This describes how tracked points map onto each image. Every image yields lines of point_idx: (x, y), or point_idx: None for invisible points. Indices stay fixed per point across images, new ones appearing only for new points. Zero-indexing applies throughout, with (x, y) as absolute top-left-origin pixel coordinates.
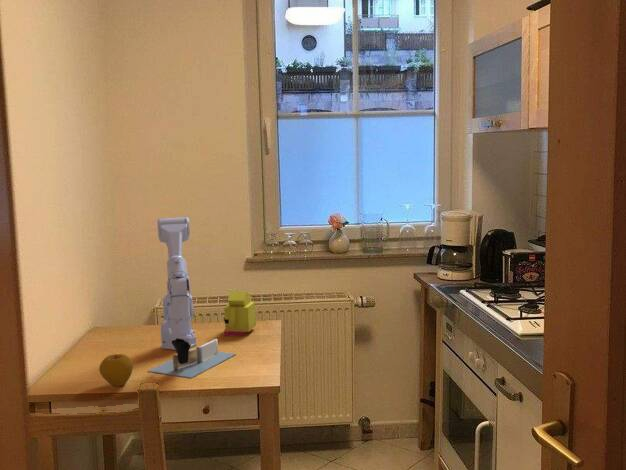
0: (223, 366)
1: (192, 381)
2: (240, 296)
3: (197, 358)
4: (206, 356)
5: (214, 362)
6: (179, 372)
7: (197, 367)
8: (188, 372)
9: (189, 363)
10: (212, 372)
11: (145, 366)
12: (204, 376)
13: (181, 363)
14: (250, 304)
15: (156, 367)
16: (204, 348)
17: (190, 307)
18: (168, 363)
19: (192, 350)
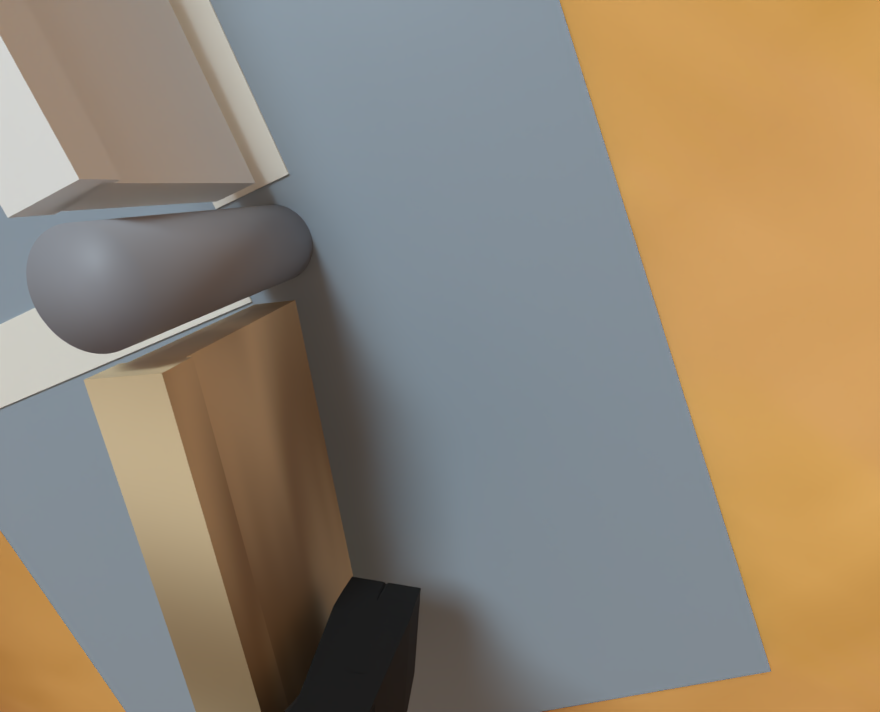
0: (750, 21)
1: (864, 709)
2: None
3: (273, 313)
4: (183, 51)
5: (467, 51)
6: (469, 648)
7: (476, 404)
8: (564, 591)
9: (324, 460)
10: (829, 351)
11: (4, 691)
12: (859, 525)
13: (410, 680)
14: None
15: (124, 684)
16: (67, 65)
17: None
18: (65, 541)
19: (204, 507)
